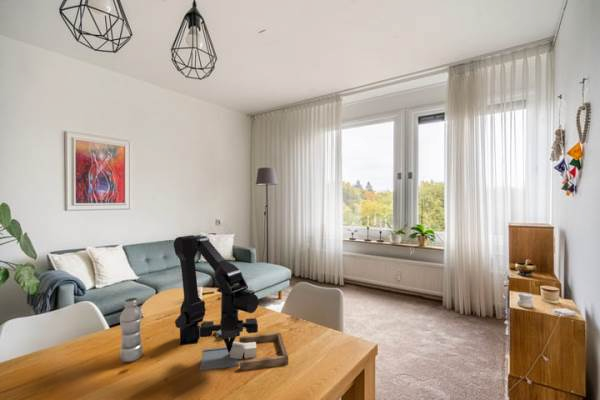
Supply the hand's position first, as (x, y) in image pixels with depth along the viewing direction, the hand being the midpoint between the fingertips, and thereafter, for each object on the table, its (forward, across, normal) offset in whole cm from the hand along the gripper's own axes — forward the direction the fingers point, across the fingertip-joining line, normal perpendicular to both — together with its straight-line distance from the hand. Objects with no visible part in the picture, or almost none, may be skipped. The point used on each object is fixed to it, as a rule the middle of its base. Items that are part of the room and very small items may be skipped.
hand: (229, 352), depth 97 cm
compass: (+2, -3, +16) cm, 17 cm away
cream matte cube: (+1, +2, 0) cm, 3 cm away
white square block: (+2, +7, 0) cm, 7 cm away
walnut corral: (+2, +11, 0) cm, 11 cm away
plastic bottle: (+2, -32, +6) cm, 33 cm away
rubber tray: (+2, -3, 0) cm, 3 cm away
